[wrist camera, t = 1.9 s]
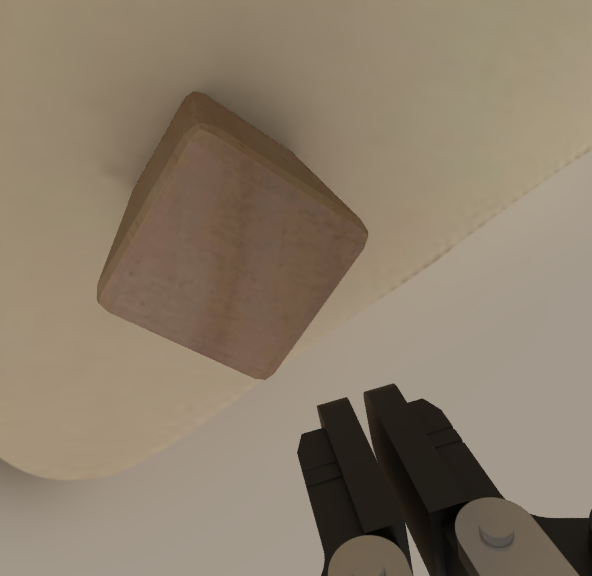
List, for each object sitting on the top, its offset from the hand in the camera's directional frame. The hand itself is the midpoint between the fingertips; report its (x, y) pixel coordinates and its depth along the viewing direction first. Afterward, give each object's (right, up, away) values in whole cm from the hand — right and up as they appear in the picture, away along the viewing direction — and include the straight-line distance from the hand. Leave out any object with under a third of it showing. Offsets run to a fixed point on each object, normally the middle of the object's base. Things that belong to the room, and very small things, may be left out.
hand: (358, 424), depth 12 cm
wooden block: (-8, +12, +30) cm, 33 cm away
